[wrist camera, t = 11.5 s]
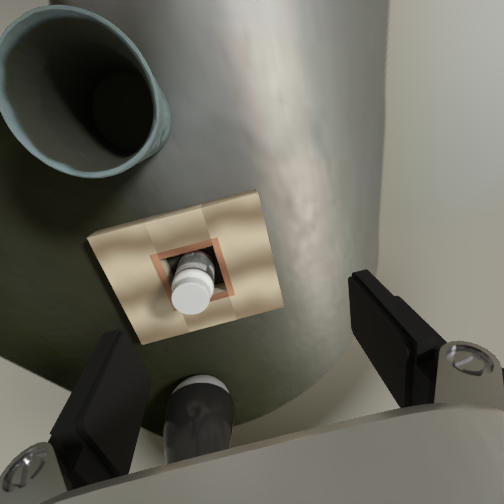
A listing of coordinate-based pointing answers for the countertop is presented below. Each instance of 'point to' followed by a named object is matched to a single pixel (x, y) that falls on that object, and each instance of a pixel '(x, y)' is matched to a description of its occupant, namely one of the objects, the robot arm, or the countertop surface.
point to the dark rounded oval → (197, 419)
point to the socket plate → (182, 241)
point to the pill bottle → (193, 283)
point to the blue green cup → (80, 93)
